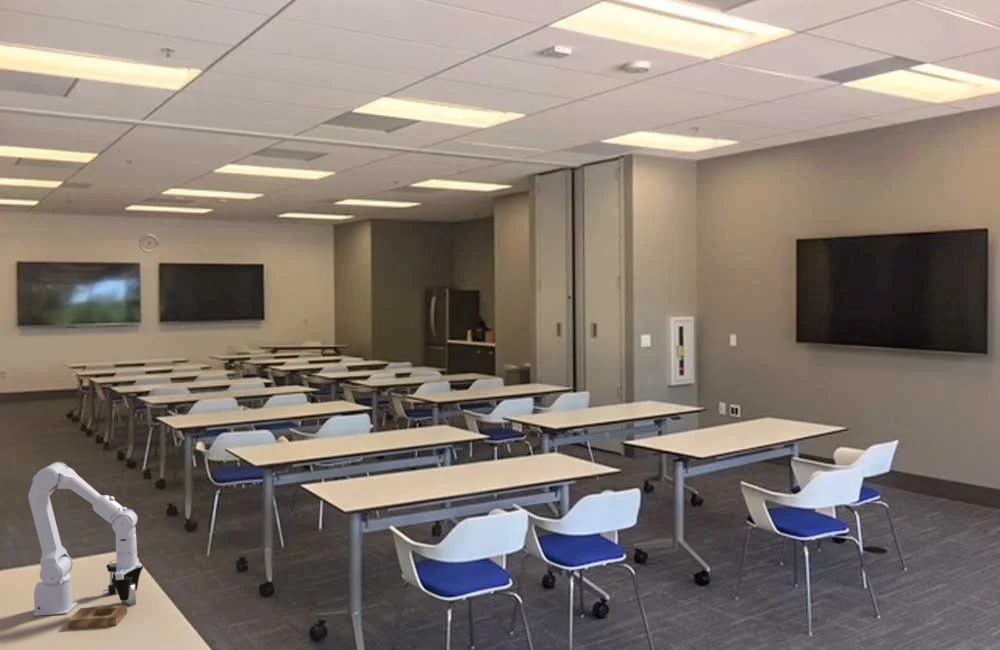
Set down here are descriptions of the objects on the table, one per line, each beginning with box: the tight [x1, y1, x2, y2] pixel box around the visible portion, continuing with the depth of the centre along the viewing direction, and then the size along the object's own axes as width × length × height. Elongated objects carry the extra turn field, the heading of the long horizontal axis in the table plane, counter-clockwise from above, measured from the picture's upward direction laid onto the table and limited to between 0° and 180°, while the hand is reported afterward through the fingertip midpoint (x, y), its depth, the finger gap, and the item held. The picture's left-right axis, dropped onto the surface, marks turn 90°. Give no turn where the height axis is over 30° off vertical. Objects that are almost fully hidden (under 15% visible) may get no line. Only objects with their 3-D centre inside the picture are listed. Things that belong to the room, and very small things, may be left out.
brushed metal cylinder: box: [120, 583, 137, 608], centre depth 247 cm, size 4×4×6 cm
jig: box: [67, 604, 128, 630], centre depth 235 cm, size 13×9×2 cm
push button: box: [102, 559, 118, 596], centre depth 257 cm, size 7×5×10 cm
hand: (128, 595), depth 247 cm, fingers open, 7 cm apart
